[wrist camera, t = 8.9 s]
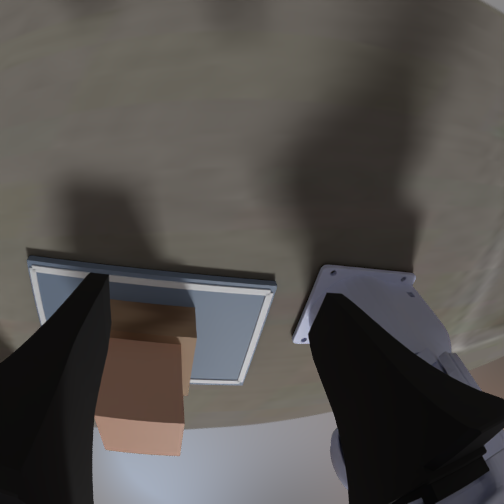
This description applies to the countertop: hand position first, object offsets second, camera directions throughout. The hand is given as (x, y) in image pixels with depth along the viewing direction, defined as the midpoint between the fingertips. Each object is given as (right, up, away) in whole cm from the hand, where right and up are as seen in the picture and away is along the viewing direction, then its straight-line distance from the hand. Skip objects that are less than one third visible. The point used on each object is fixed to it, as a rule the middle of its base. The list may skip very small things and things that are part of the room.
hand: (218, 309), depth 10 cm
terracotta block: (-7, -6, +11) cm, 14 cm away
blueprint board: (-7, -4, +14) cm, 16 cm away
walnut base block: (-7, -4, +14) cm, 16 cm away
